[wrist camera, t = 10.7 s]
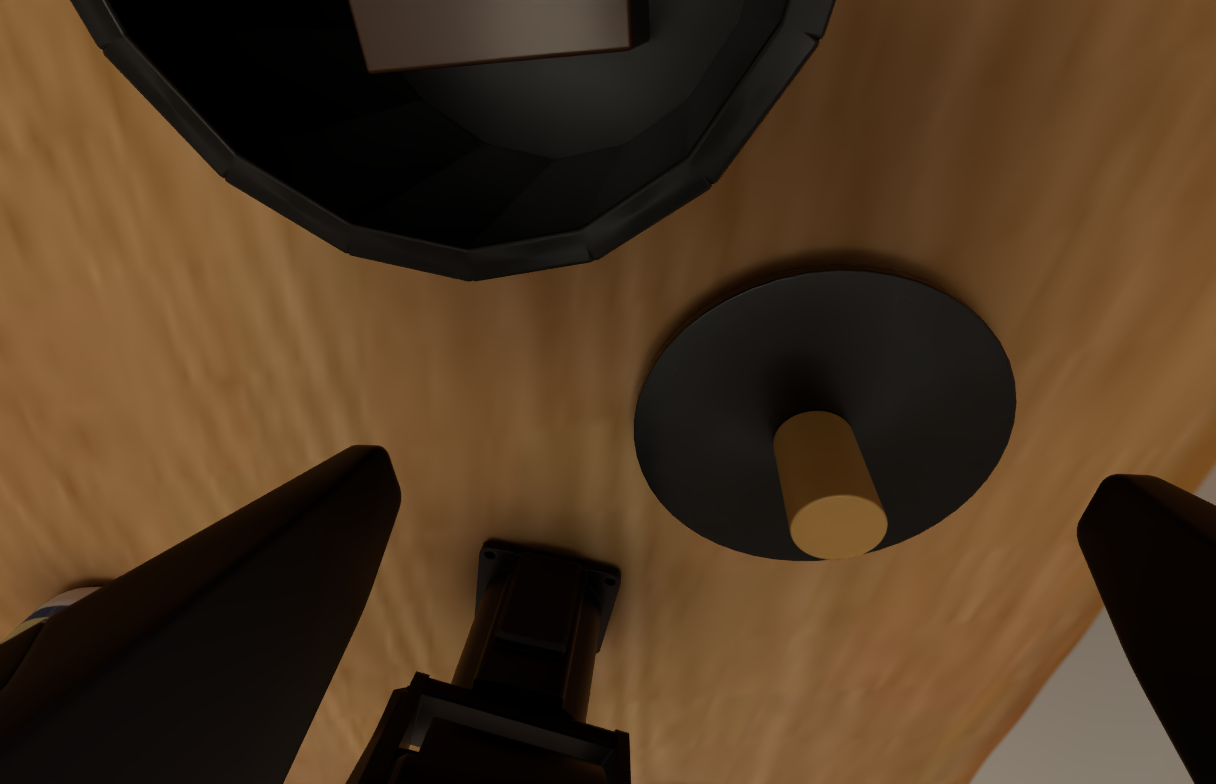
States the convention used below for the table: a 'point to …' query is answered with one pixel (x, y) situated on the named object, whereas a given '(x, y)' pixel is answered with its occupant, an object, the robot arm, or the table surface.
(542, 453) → the table surface
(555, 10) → the block
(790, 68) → the pot
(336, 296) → the table surface
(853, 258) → the table surface
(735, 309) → the lid
